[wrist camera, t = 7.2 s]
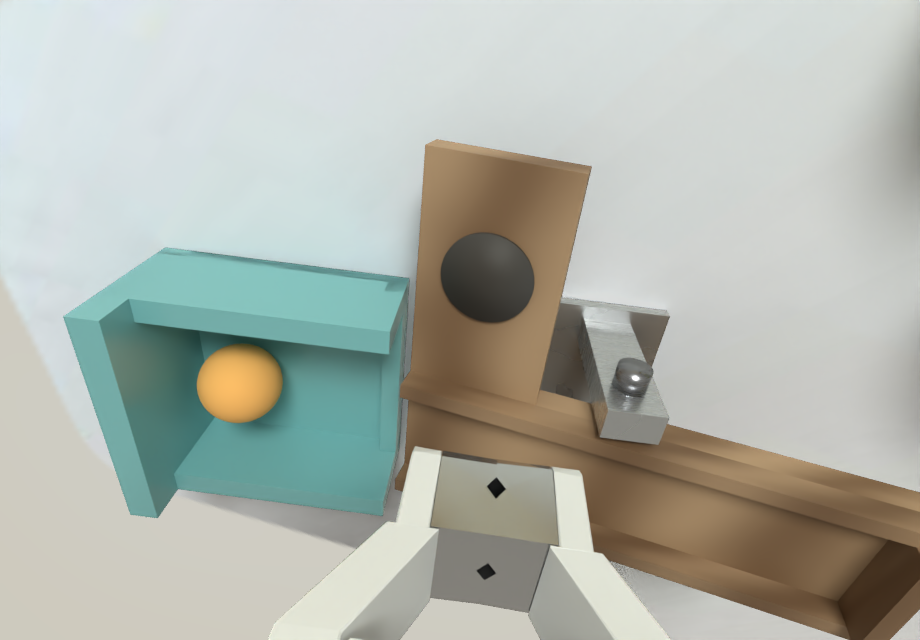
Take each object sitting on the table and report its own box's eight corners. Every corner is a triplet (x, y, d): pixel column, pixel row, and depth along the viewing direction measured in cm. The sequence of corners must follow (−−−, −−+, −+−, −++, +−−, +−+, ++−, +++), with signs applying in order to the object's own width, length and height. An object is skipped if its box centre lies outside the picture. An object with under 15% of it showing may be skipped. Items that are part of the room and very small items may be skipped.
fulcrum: (668, 306, 22) (724, 405, 16) (607, 476, 27) (634, 594, 22) (551, 291, 22) (568, 385, 16) (513, 464, 27) (516, 579, 22)
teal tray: (409, 278, 22) (380, 357, 17) (399, 446, 27) (375, 546, 22) (164, 247, 22) (63, 316, 17) (200, 421, 27) (130, 514, 22)
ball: (273, 374, 21) (179, 375, 20) (279, 438, 23) (193, 441, 22) (284, 328, 24) (203, 328, 23) (289, 388, 26) (214, 389, 25)
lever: (1112, 258, 13) (1216, 307, 11) (839, 591, 20) (864, 665, 18) (436, 139, 17) (402, 156, 14) (412, 457, 24) (386, 503, 22)
